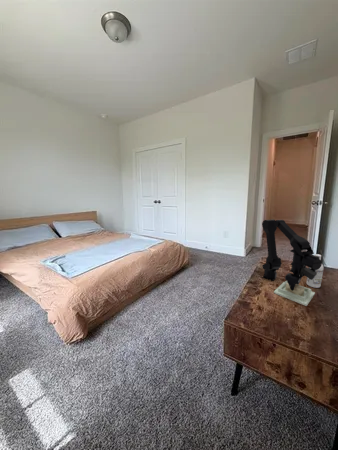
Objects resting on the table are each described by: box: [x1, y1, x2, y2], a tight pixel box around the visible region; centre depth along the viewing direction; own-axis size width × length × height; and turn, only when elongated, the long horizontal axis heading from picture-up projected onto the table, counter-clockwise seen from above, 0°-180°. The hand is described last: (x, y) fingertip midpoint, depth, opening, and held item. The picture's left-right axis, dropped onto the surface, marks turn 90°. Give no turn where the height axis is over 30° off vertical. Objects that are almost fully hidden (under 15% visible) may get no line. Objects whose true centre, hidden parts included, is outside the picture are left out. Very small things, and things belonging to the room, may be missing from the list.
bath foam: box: [306, 253, 324, 289], centre depth 115 cm, size 7×7×20 cm
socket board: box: [273, 280, 316, 307], centre depth 109 cm, size 16×16×3 cm
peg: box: [285, 283, 305, 296], centre depth 108 cm, size 8×4×4 cm, turn 30°
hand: (294, 287), depth 108 cm, fingers open, 9 cm apart
